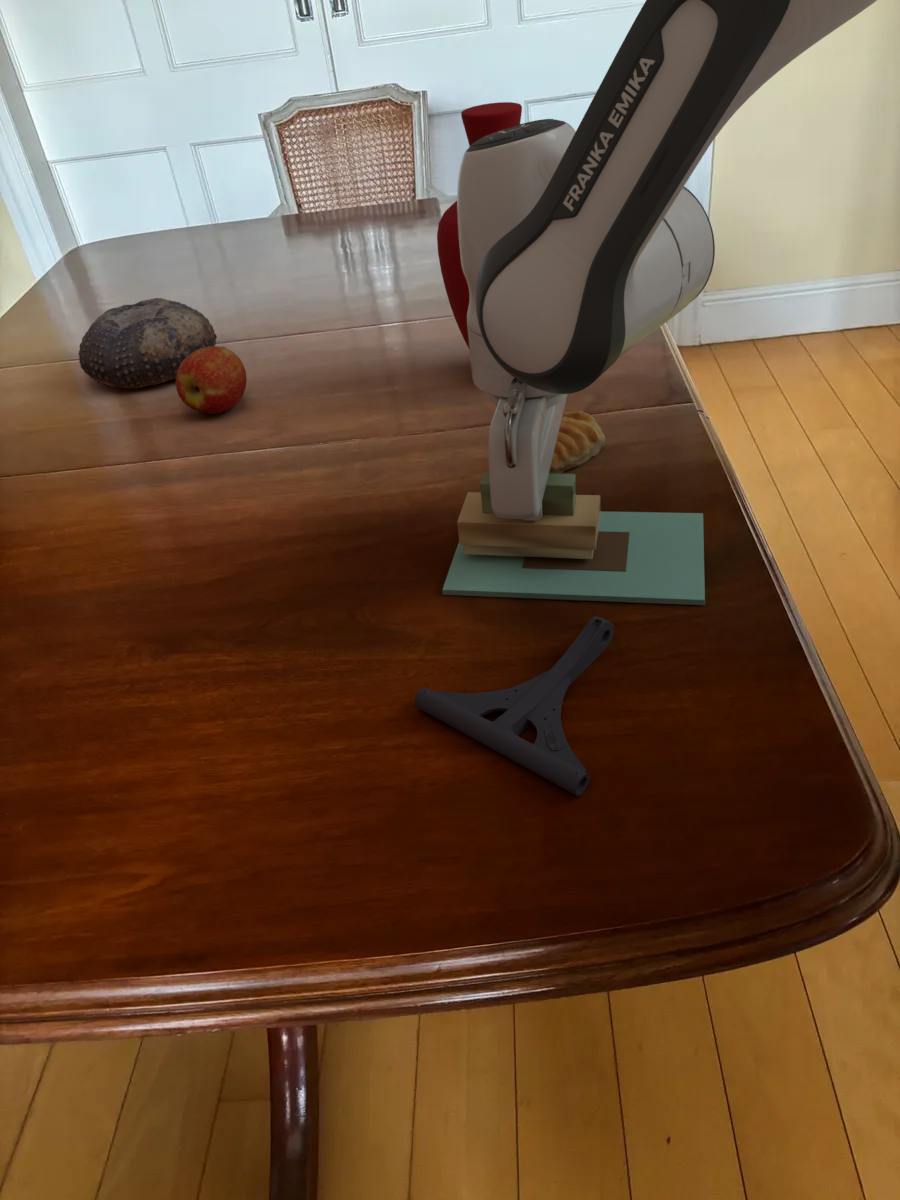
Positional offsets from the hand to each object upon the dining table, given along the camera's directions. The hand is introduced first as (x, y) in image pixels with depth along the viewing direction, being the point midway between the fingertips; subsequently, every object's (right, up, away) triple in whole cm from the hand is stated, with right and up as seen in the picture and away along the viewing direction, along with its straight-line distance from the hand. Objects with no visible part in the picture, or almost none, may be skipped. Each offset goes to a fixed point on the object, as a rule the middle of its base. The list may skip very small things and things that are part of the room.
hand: (535, 505), depth 78 cm
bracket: (0, -15, -11) cm, 19 cm away
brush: (0, -3, +3) cm, 4 cm away
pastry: (+5, +7, +17) cm, 19 cm away
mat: (+4, -4, +2) cm, 6 cm away
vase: (0, +20, +35) cm, 40 cm away
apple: (-37, +16, +36) cm, 54 cm away
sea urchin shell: (-49, +25, +50) cm, 74 cm away
